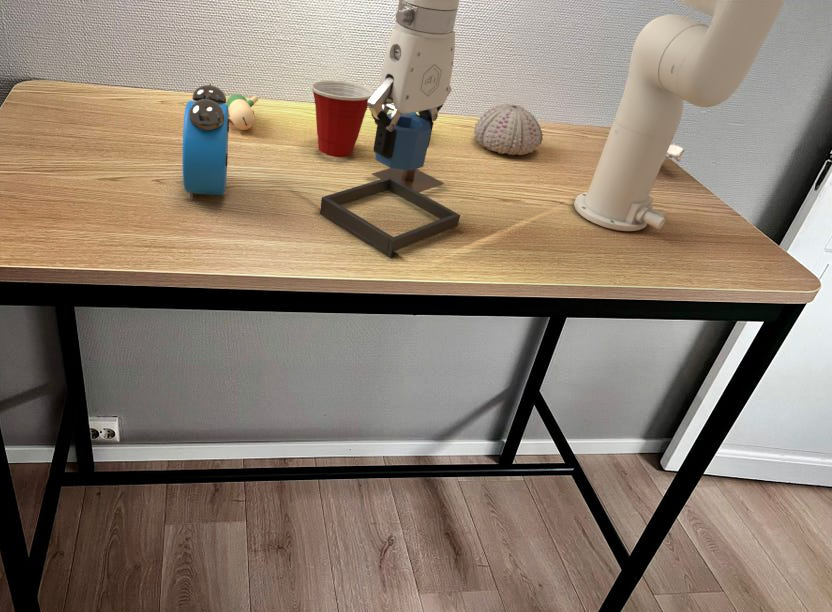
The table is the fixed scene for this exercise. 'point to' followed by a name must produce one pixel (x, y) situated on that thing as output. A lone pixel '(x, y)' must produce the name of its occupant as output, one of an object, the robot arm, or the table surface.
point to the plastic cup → (339, 115)
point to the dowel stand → (410, 178)
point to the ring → (408, 143)
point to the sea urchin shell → (508, 130)
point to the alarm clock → (205, 142)
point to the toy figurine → (241, 111)
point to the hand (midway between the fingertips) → (401, 149)
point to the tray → (375, 235)
